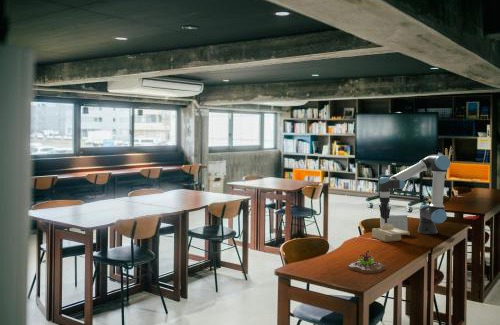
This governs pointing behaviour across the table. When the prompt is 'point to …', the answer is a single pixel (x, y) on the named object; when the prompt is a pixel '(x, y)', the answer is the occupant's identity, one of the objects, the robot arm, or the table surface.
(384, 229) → the lid
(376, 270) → the plant
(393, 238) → the mailer base
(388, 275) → the table surface
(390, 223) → the skincare box
